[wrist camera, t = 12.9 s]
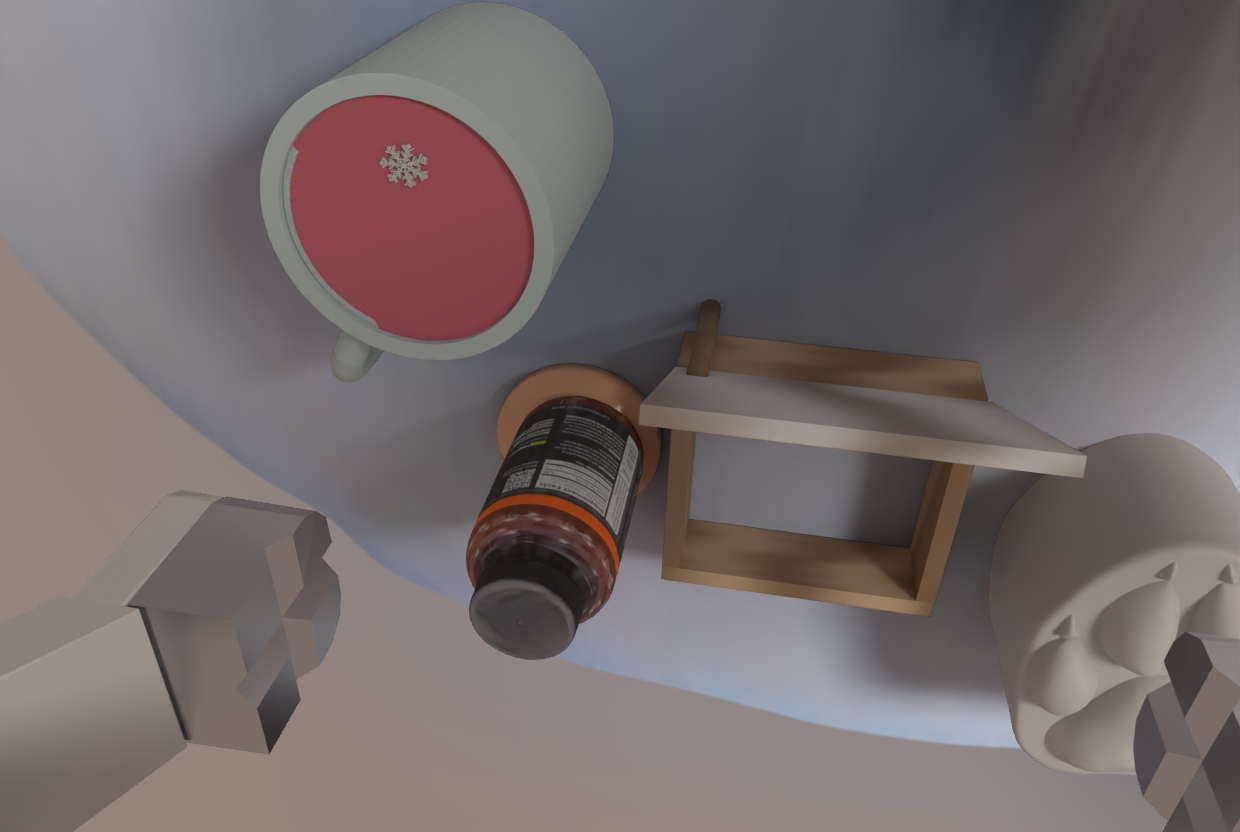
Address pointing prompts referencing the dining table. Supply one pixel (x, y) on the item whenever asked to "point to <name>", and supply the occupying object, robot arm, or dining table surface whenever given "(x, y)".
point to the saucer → (584, 384)
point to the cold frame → (842, 419)
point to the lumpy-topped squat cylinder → (1109, 593)
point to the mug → (438, 184)
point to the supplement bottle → (553, 526)
